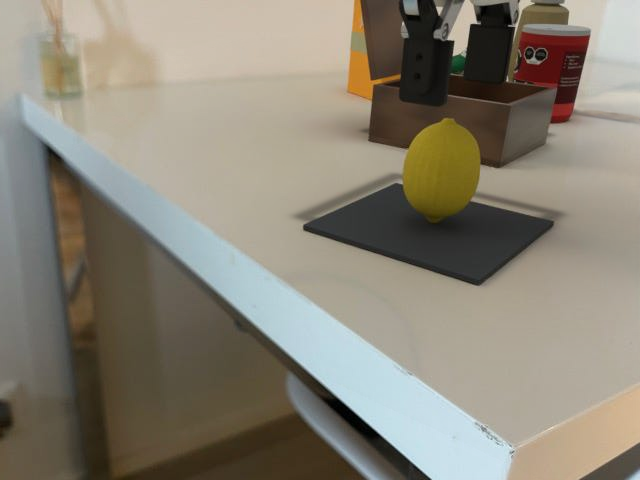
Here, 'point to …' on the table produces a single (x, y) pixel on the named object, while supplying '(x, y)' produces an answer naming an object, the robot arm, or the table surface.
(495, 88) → the chest
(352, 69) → the orange juice
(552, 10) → the squeeze bottle
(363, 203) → the mat
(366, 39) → the lid
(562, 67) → the canned food
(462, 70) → the green rounded piece
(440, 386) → the table surface
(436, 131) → the lemon
